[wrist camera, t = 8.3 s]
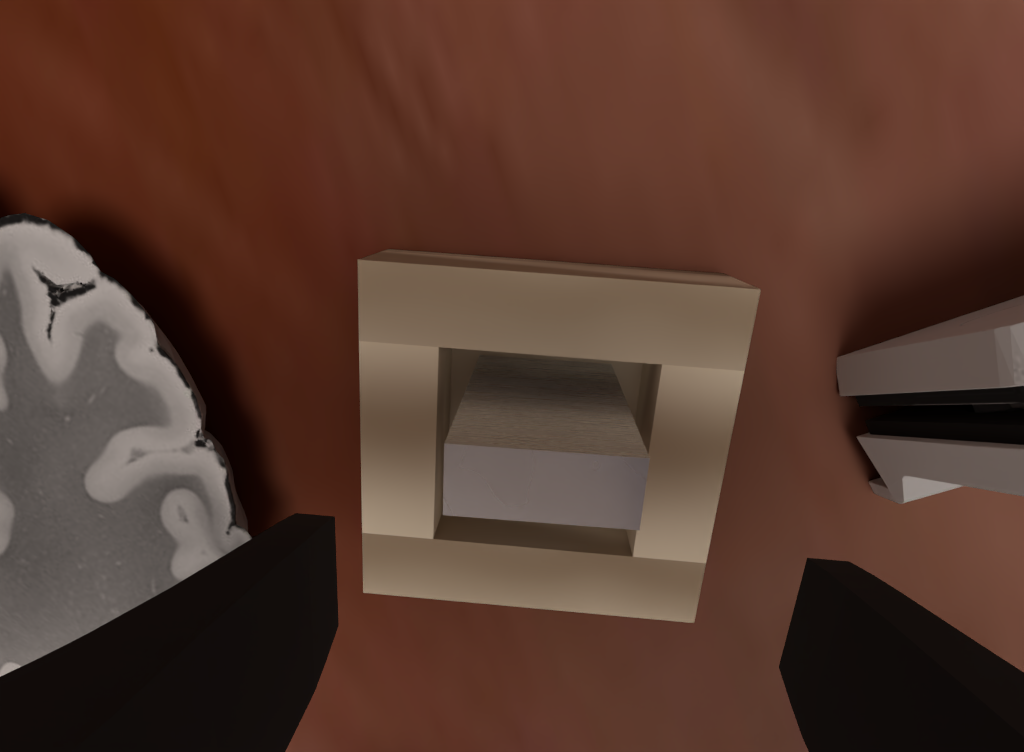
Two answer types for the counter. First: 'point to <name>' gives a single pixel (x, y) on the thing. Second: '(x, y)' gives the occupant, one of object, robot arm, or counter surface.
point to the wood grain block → (545, 446)
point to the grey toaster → (945, 405)
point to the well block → (553, 336)
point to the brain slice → (94, 450)
